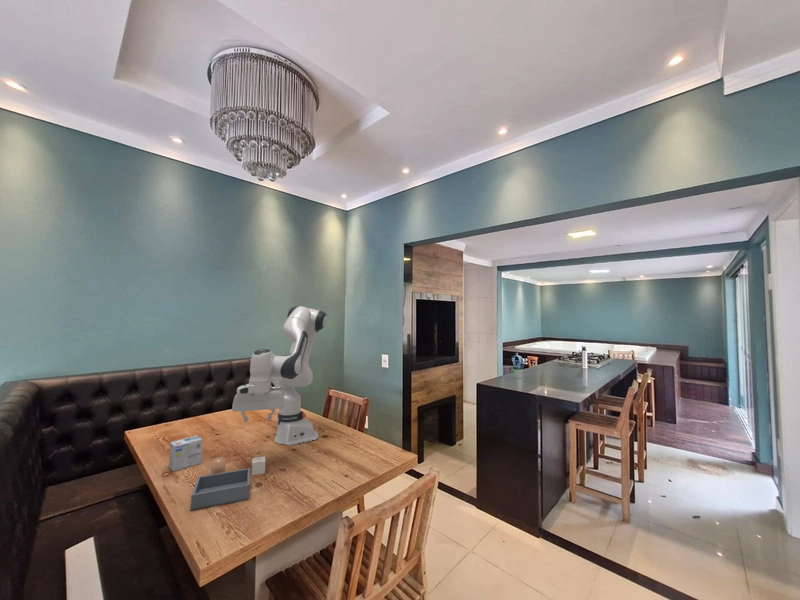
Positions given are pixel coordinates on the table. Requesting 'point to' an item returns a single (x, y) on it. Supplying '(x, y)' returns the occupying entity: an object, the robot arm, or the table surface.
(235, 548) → the table surface
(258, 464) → the cream cube
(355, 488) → the table surface
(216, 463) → the tan rounded cylinder
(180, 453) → the light bulb box
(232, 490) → the box
